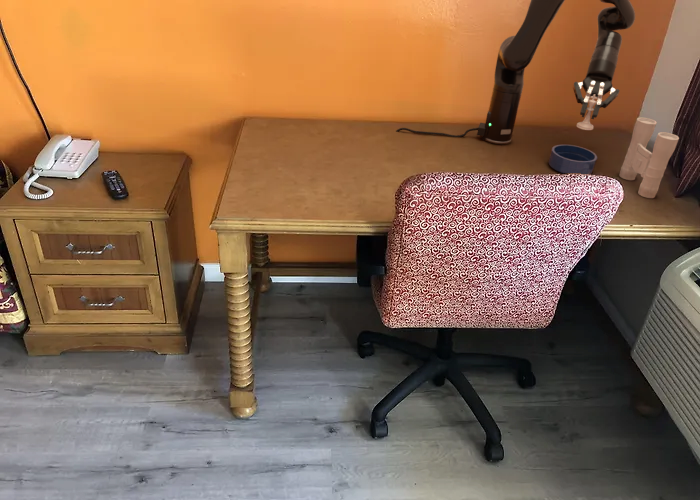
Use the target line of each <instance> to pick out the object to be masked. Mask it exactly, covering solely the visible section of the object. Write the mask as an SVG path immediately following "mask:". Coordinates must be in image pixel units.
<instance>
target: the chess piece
mask: <svg viewBox="0 0 700 500" xmlns="http://www.w3.org/2000/svg"><path fill="white" fill-rule="evenodd" d="M595 99H597V97H595V94H594V95H593V96H590V99H589V101H588V106H587V109H586V113H585V116H584V119H583V120H582V121H579V122H577V123H576V127H577V128H578V129H579V130H583V131H593V130H594V125H593V124H592V123H591V117H592V115H591V114H592V112H593V111H594V108H593V107H595V105H596V100H595Z"/></svg>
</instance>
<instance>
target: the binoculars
mask: <svg viewBox="0 0 700 500" xmlns="http://www.w3.org/2000/svg"><path fill="white" fill-rule="evenodd" d="M657 124H658V123H657V121H656V120H654V119H652V118H649V117H642V116H641V117H637V118H636V120H635V124H634V126H633V129H632V135H631V140H630V143H629V146H628V148H627V152H626V155H625V157H624V161H623V163H622V165H621V167H620V169H619V170H620V172H619V174H618V176H619V177H620V178H621V179H623V180H627V181H634V180H636V177H637V176H638V174H639V175H640V177H641V178H642V180H641V183H640V184H639V188H638V192H637V194H638V195H639V196H641V197H643V198H646V199H654V198H656V196H657V193H658V192H659V189H660V188H659V187H660V184H661V181H662V179H663V178H664V174H665V171H666V169H667V166H668V164H669V161H670V159H671V157H672V155H673V154H674V152H675V150H676V148H677V145H678V143H679V139H680V137H679V136H678V135H676V134H675V133H674V134H673V133H670V132H665V131H662V132H661V131H660V132H658V133H657V136H656V138H655V141H654V144H653V148H652V151H650V150H649V149H647V146H648V144H649V142H650V140H651V138H652V136H653V135H654V132H655V129H656V125H657Z"/></svg>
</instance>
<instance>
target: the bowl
mask: <svg viewBox="0 0 700 500" xmlns="http://www.w3.org/2000/svg"><path fill="white" fill-rule="evenodd" d="M597 160H598V155H597V154H596V153H595V152H594V151H592V150H590V149H588V148H585V147H582V146H579V145H574V144H557V145H554V146H553V147H551V149H550V154H549V157H548V165H549V166H550V167H551V168H552V169H554V170H555V171H556V172H558V173H561V174H564V173H581V174H589V175H592V174H593V173H594V170H595V167H596V163H597V162H598V161H597Z"/></svg>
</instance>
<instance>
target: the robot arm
mask: <svg viewBox="0 0 700 500" xmlns="http://www.w3.org/2000/svg"><path fill="white" fill-rule="evenodd" d="M565 1H566V0H530V1H529V5H528V8H527V12H526V14H525V17H524V19H523V22H522V24H521V25H520V27H519V29H518V31H516V33H515V35H511V36H508V37H507V38H505V39H504V40H503V41H502V43H501V44H500V46H499V48H498V53H497V58H496V63H495V68H494V75H493V87H492V91H491V96H490V101H489V106H488V110H487V113H486V114H487V115H486V118H485V122H479V124H478V127H473V128H468V129H467V130H465V132H463V133H462V134H459V135H458V134H457V135H455V134H449V133H444V132H436V131H435V132H434V131H422V130H421V131H420V130H414V129H410V128H408V127H399V128H397V129H396V130H395V132H397V133H399V132H400V131H408V132H410V133H414V134H422V135H434V136H435V135H436V136H444V137H449V138H463V137H465V136H466V135H467V134H468V133H470V132H473V131H477V133H476V135H477V136H481V140H482V141H485V142H487V143H490V144H494V145H501V146H502V145H503V146H504V145H509V144H511V142H512V137H513V134H514V128H515V124H516V121H517V115H518V110H519V107H520V102H521V97H522V94H523V89H524V83H525V80H524V79H525V78H524V77H525V76H524V75H525V69H526V68H528V66H529V65H530V64H531V62H532V60H533V58H534V56H535V54H536V52H537V49H538V48H539V45H540V43H541V41H542V39H543V37H544V35H545V33H546V32H547V30H548V28H549V27H550V25H551V24H552V22H553V20H554V19H555V17H556V16H557V14H558V12H559V11H560V10H561V8H562V6H563V4H564V3H565ZM599 1H600V2H602V3H604V4H612V5H614V6H608V7H604V8H602V9H601V10H600V11H599V13H598V14H597V17H596V26H597V39H596V43H595V45H594V50H593V52H592V55H591V57H590V60H589V64H588V67H587V71H586V75H585V77H584V79H583V80H582V81H580V82H578V81H574V82H573V85H572V89H573V94H574V97H575V100H576V102H577V104H581V107H580V113H579V114H580V116H581V118H585V117H586V114H587V107H588V106H589V100H591V98H590V97H591V96H593V95H594V94H595V97H597V99H596V100H595V101H596V103H595V105H594V106H593V107H594V108H593V109H594V110H593V111H592V113H591V114H592V115H591V117H590V120H595V119H596V118H598V115H599V112H600V109H602V108H603V109H606V108H607V107H608V106H609V105H610V104H611V103H612V102H614V100H615V99H616V98H617V97H618V96H619V95H620V89H618V88H614V87H613V79H614V75H615V71H616V68H617V65H618V60H619V53H620V50H621V47H622V43H623V37H622V34H621V33H620V32H617V31H622V30H623V31H624V30H627V29H630V28H632V26H633V25H634V23H635V20H636V11H635V8H634V6H633V4H632V2H631V0H599ZM582 89H583V90H584V92H585V96H583V93H582V91H581V90H582ZM606 94H609V96H608V97H607V98H605V100H603V97H604V96H605V95H606Z"/></svg>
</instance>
